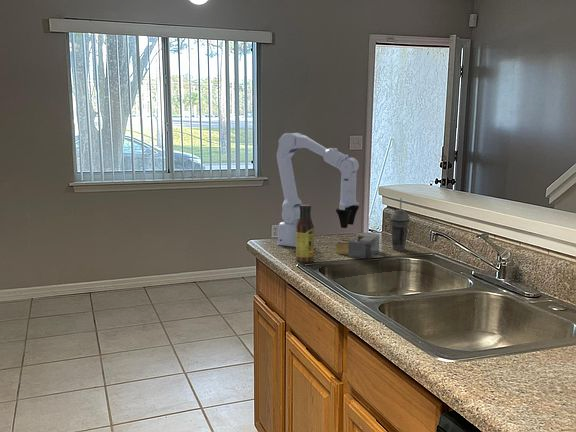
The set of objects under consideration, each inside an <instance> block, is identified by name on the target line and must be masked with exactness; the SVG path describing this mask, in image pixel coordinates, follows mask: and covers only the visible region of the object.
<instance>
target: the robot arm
mask: <svg viewBox="0 0 576 432" xmlns="http://www.w3.org/2000/svg"><path fill="white" fill-rule="evenodd" d="M302 148H303V149H304V148H305V149H307V150H309V151H311V152H313V153H315V154H317V155H319V156H321V157H322V158H323V161H324V162H325V163H327V164H329V165H331V166H333V167H335V169H338V170H339V172H340V173H341V174H340V175H341V177H340V197H339V198H340V199H339V205H338V206H339V207H338V208H336V209H335V212H336V214H337V216H338V219H339V224H340V228H341V229H347V228H348V226H349V225H350V226H351V225H353V226H354V223H355V219H356V215H357V213H358V210H359V208H360V206H359V204H360V203H359V202H358V201H357V197H356V196H357V175H358V174H357V171H359V168H360V163H359V161H358V160H357V158H355V157H353V156H352V157H349V155H348V154H344V153H342V152H341V151H339V149H338V148H336V147H329V148H327V147H325V146H323V145H322V144H320V143H318V142H316V141H315V140H313V139H312V138H310V137H309V136H308V135H305V134H302V133H301V132H293V133H292V132H291V133H290V132H285V133H283V134H282V135H281V136H280V137H279V139H278V147H277V151H276V161H277V167H278V173H279V179H280V182H281V188H282V193H283V198H284V199H283V203H282V204H281V208H282V212H281V218H282V220H283V221H281V222H279V224H278V228H277V244H276V245H277V246H283V247H284V246H286V247H295V248H296V231H297V227H296V226H297V222H298V221H299V219H300V205H303V202H302V200H301V199H300V198H299V194H298V191H297V183H296V180H295V179H296V178H295V174H294V168H293V163H292V157H293V156H294V154H295V153H296V152H297V151H299V150H300V149H302Z"/></svg>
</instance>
